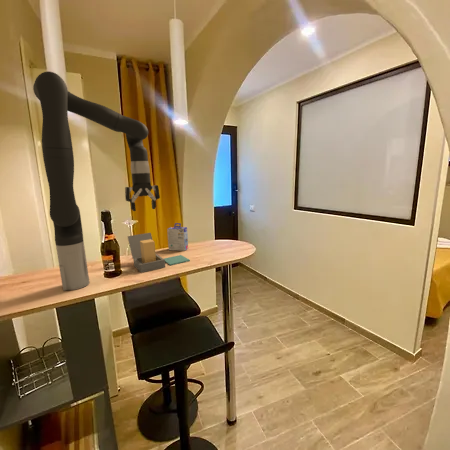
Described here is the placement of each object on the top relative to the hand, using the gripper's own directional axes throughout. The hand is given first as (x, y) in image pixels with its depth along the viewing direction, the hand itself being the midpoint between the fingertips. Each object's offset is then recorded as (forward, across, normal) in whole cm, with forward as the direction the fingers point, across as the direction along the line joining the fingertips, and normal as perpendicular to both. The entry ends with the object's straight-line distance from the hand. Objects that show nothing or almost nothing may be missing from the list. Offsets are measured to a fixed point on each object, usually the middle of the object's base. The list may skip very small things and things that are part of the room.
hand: (144, 209), depth 120 cm
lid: (+18, 0, +9) cm, 20 cm away
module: (+26, 0, 0) cm, 26 cm away
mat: (+26, +13, 0) cm, 29 cm away
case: (+26, 0, 0) cm, 26 cm away
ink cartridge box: (+26, +22, +17) cm, 38 cm away
